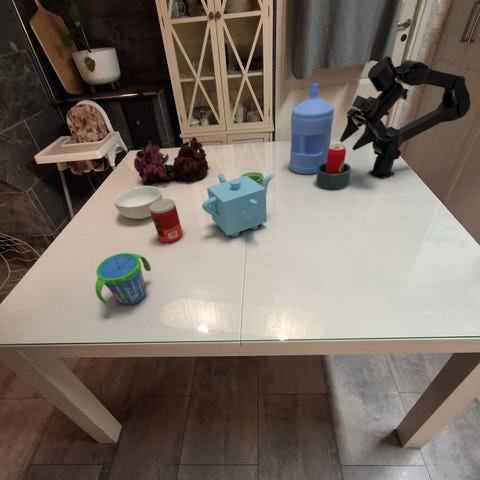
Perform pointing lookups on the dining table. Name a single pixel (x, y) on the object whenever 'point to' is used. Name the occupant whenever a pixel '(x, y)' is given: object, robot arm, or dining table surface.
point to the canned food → (166, 220)
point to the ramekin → (255, 176)
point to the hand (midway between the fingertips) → (346, 145)
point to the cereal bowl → (137, 201)
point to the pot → (332, 178)
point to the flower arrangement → (183, 170)
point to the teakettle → (237, 204)
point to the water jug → (310, 133)
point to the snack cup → (122, 277)
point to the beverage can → (335, 159)
